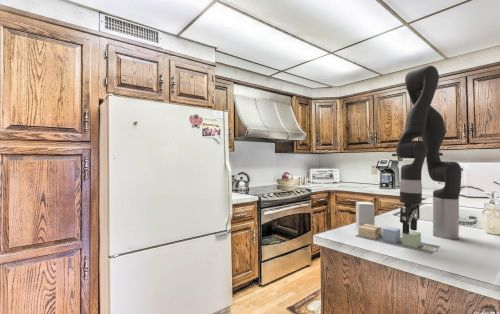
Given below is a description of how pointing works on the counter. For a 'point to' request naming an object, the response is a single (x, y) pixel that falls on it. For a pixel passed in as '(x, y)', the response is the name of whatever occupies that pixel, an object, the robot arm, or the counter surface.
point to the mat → (399, 244)
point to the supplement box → (365, 213)
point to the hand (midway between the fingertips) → (409, 231)
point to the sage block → (411, 239)
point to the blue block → (391, 234)
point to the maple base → (370, 231)
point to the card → (429, 248)
